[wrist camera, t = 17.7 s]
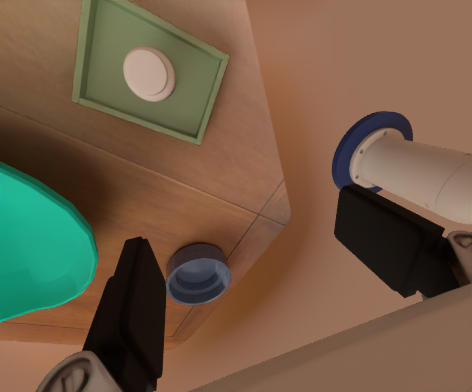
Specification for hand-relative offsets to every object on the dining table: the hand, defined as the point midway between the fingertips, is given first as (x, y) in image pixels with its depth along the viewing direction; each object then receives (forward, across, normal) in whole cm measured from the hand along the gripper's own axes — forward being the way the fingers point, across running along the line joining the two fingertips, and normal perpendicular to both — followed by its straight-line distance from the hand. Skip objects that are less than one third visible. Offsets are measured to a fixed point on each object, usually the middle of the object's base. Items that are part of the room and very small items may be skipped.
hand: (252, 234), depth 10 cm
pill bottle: (+28, +4, -8) cm, 29 cm away
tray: (+28, +4, -8) cm, 30 cm away
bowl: (+28, +6, +29) cm, 41 cm away
